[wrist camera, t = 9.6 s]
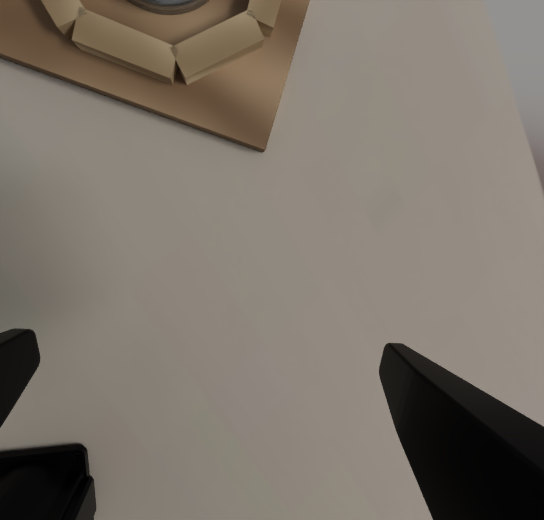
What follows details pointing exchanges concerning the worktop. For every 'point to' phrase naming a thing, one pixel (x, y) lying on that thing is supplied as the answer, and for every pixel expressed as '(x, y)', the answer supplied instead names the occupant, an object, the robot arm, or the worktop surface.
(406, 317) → the worktop surface
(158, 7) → the grey metal cylinder
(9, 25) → the socket board
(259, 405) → the worktop surface
